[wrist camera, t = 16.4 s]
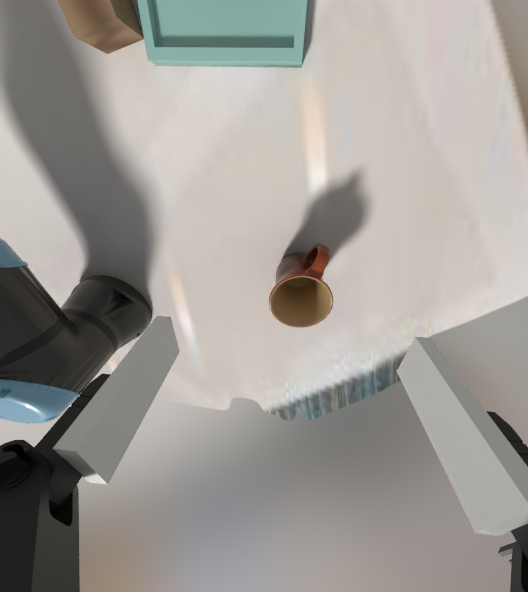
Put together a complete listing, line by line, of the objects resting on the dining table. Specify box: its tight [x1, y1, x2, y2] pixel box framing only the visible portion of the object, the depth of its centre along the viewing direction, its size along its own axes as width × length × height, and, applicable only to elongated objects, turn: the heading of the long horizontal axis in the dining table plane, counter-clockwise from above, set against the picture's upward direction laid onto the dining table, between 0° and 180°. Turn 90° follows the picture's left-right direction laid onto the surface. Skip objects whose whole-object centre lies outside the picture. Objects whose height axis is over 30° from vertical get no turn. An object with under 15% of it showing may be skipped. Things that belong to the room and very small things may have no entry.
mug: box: [269, 244, 333, 327], centre depth 34 cm, size 12×9×10 cm
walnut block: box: [58, 0, 144, 54], centre depth 23 cm, size 5×5×5 cm
